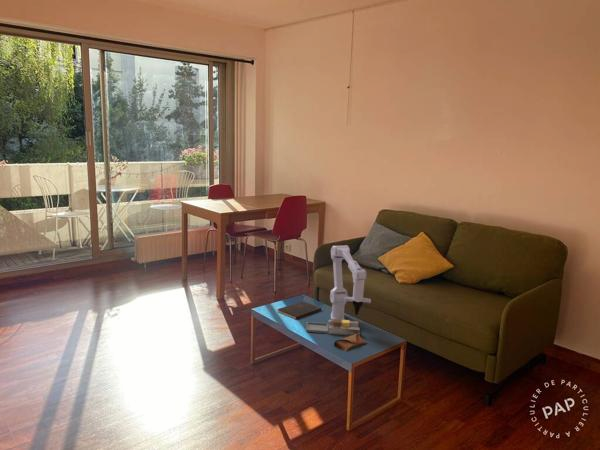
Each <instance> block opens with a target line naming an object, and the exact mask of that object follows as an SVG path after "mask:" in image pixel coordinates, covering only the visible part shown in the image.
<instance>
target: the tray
mask: <svg viewBox="0 0 600 450" xmlns="http://www.w3.org/2000/svg"><path fill="white" fill-rule="evenodd" d="M305 331H306V333H314V334H317V333H318V334H329V333H328V322H315V321H311V322H310V321H306V330H305Z"/></svg>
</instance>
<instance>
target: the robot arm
mask: <svg viewBox="0 0 600 450" xmlns="http://www.w3.org/2000/svg"><path fill="white" fill-rule="evenodd" d="M330 258H331V260H332V266H333V268H332V269H333V283H334V287H333V288H332V289H331V290H330V295H329V300H330V303H331V304H332V305H331V312H330V320H333V319H339V320H346V319H345V314H344V313H345V305H346V304H347V302H351V303H352V306H353V308H354V315H357V316H358V315H359V312H360V309H361V308H362V306H363V303H366V304H372V303H371V302H372V299H371V298H366V297H364V292H365V280H367V279H368V272H367V270H366V269H365V268H364V269H363V268H362V267H361V266H360V264H359V263H358V261H357V260H354V258H353V256H352V255H351V249H350V247H349V245H347V244H346V245H332V247H331V248H330ZM343 260H345V261H346V263H347V264H348V265H347V267H348V269H349V271H350V272H351V273H352V274H351V276H352V282H353V289H352V296H349V294H348V290H347V289H346V288H344V283H343V282H344V281H343V280H344V279H343V266H342V265H343V264H342V262H343Z"/></svg>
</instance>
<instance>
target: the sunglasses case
mask: <svg viewBox="0 0 600 450" xmlns="http://www.w3.org/2000/svg"><path fill="white" fill-rule="evenodd" d="M366 344H367V342H366V341H365V340H364V339H363V338H362V337H361V336H360V334H359V335H358V333H357V334H354V335H347V336H345V337H343V338H340V339H336V340H335V341H334V343H333V346H334V347H335V348H337V349H339V350H341V351H344V352H348V351H349V350H352V349H355V348H357V347H360V346H363V345H366Z"/></svg>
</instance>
